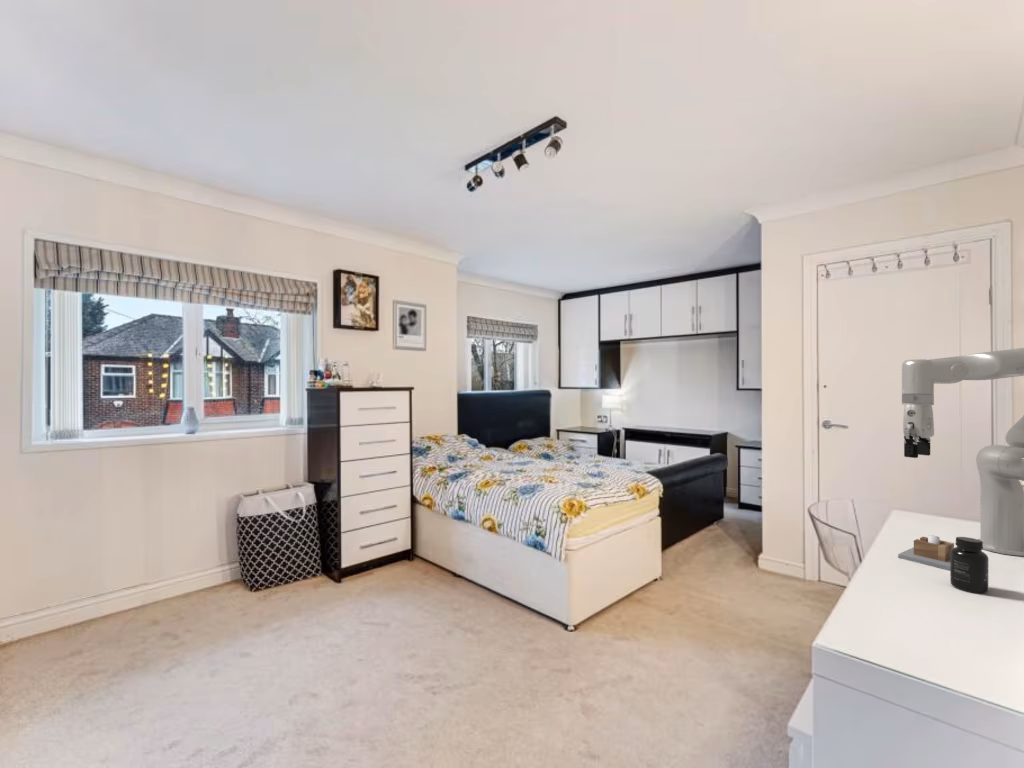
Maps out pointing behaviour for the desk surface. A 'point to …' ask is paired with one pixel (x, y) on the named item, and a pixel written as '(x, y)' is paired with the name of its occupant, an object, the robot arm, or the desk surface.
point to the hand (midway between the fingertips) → (917, 456)
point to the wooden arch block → (933, 549)
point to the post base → (924, 560)
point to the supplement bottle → (969, 566)
